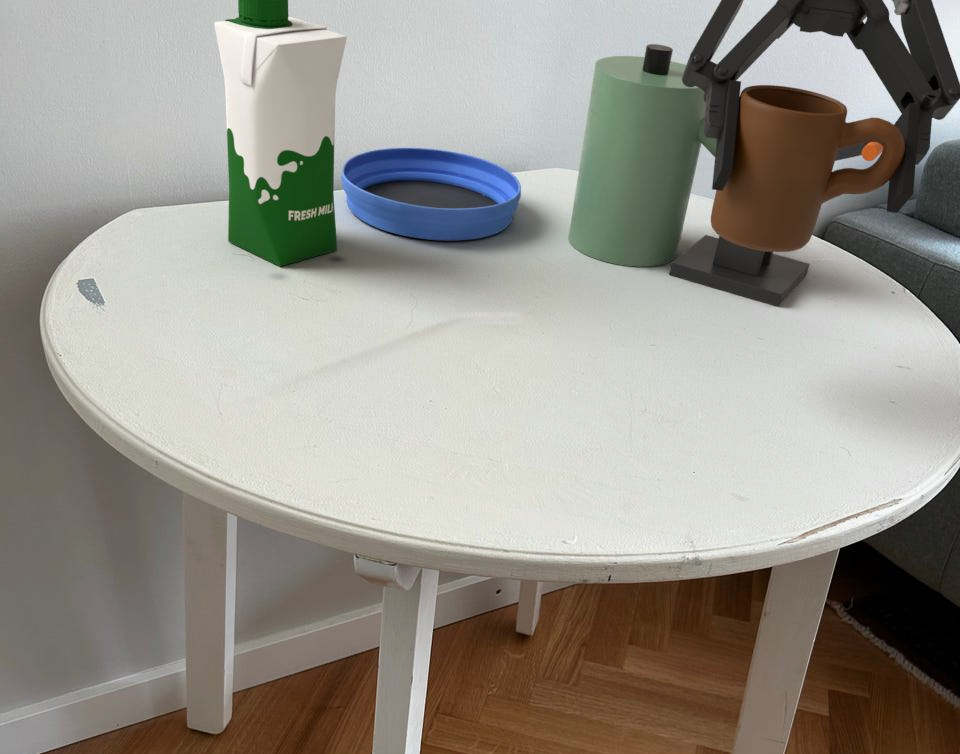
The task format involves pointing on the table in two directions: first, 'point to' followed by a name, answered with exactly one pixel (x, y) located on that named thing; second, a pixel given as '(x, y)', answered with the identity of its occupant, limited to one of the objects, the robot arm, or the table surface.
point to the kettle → (637, 159)
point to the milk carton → (280, 131)
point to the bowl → (430, 193)
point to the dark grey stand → (740, 270)
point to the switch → (861, 151)
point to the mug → (794, 166)
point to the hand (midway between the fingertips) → (811, 192)
